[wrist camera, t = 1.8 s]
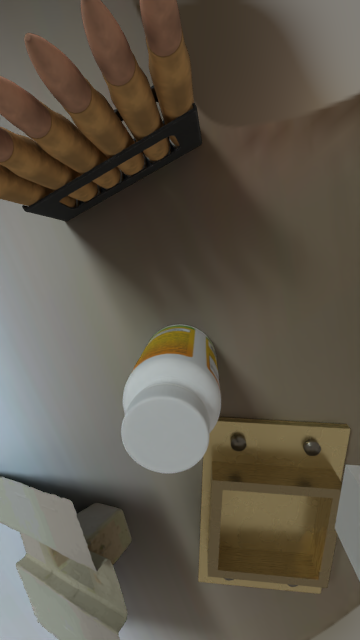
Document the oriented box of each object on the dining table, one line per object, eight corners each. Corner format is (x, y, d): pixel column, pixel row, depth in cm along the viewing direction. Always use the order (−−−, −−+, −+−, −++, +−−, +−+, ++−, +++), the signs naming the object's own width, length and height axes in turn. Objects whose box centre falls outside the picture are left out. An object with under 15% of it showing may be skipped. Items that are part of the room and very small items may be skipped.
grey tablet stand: (115, 556, 33) (205, 651, 22) (36, 627, 28) (101, 807, 16) (69, 422, 32) (138, 448, 21) (-22, 468, 27) (3, 538, 15)
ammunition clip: (64, 222, 20) (-120, 188, 9) (51, 197, 20) (-160, 126, 8) (202, 143, 18) (201, -34, 7) (190, 114, 18) (166, -124, 6)
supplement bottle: (133, 363, 23) (82, 446, 13) (171, 308, 21) (146, 357, 12) (189, 400, 23) (179, 507, 14) (230, 349, 22) (251, 428, 12)
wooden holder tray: (204, 416, 23) (204, 436, 21) (346, 424, 22) (364, 446, 20) (198, 574, 27) (197, 607, 25) (317, 586, 27) (329, 621, 24)
